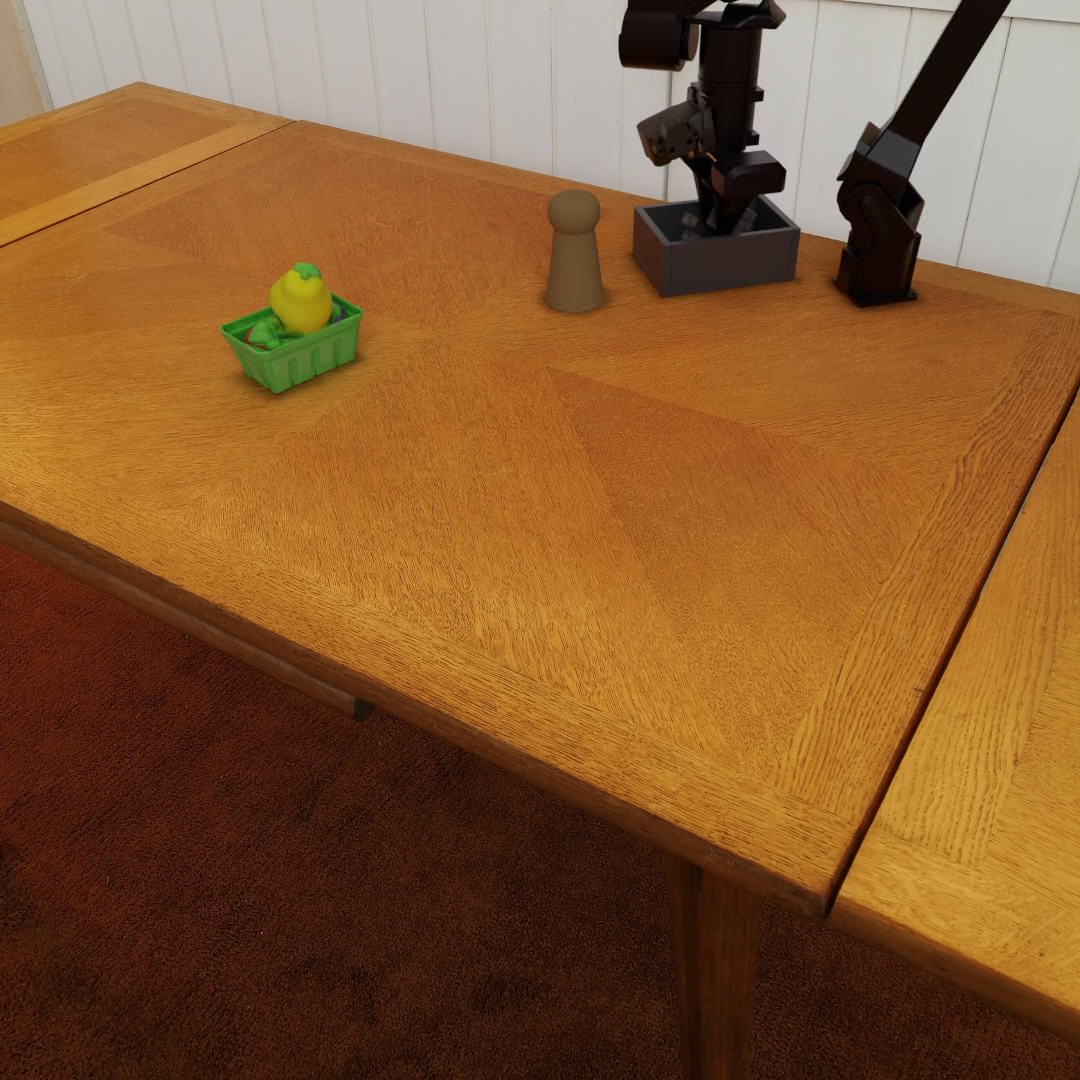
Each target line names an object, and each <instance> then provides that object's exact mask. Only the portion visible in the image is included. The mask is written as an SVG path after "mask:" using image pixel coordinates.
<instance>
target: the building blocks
mask: <svg viewBox="0 0 1080 1080" xmlns="http://www.w3.org/2000/svg"><path fill="white" fill-rule="evenodd" d="M757 215H758V214H757V213H755V212H754V211H752V210H750V209H749V208H747V209H746V210H745V212H744V213H743V215H742V217H741V218H740V220H739V222H738V223H737V225H736V227H735V228H734V230H733V232H732V233H731V234H739V233H747V232H748V231H749V229H750V227H751V225H752V224H753V222H754V220H755V218H756V216H757ZM697 221H698V218H697V217H696V216H694V215H693V214H690V213H687V212H686V213H685V215H684V217H683V219H682V221H681V222H682V223H684V224H685V225H686V226H688V227H691V228H694V227H695V225H696V223H697ZM706 223H707V224H708V225H709V226H711V227H712V228H714V229H715V230H716V225H715V207H713V209H712V211H711V213H710V215H709V217H708V219H707V221H706ZM699 238H701V237H699V236H698V235H696V234H695V233H693V232H692V231H689V230H686V229H685V231H684V233H683V235H682V237H681V239H682V240H691V239H699Z"/></svg>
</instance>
